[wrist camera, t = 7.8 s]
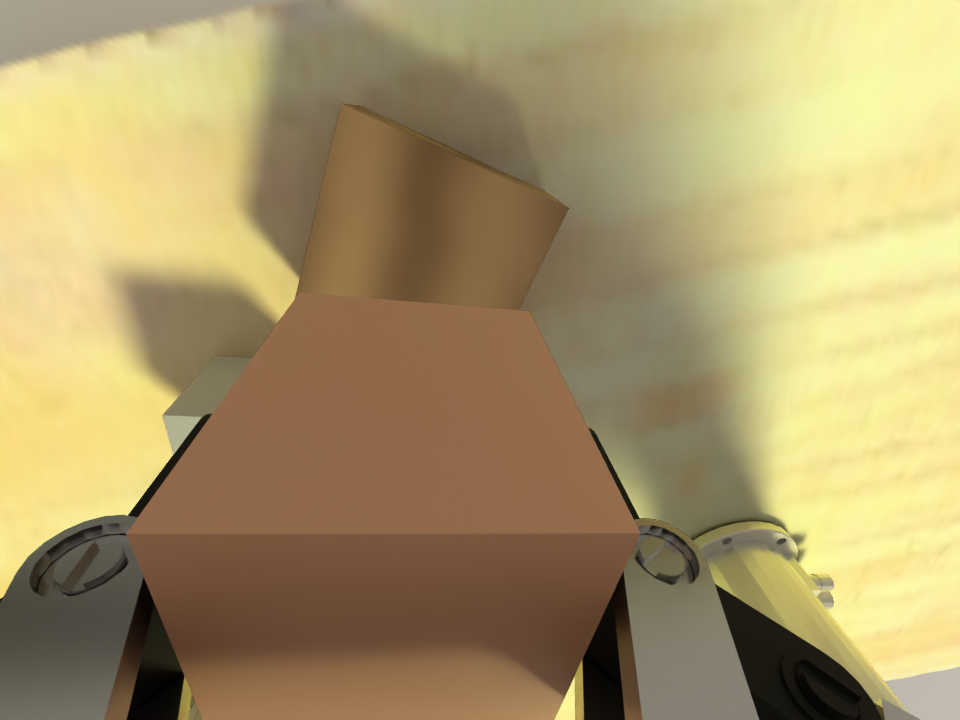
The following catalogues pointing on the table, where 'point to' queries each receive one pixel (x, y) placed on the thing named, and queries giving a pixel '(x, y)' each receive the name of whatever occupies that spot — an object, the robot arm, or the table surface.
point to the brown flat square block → (422, 221)
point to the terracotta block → (387, 523)
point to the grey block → (202, 396)
